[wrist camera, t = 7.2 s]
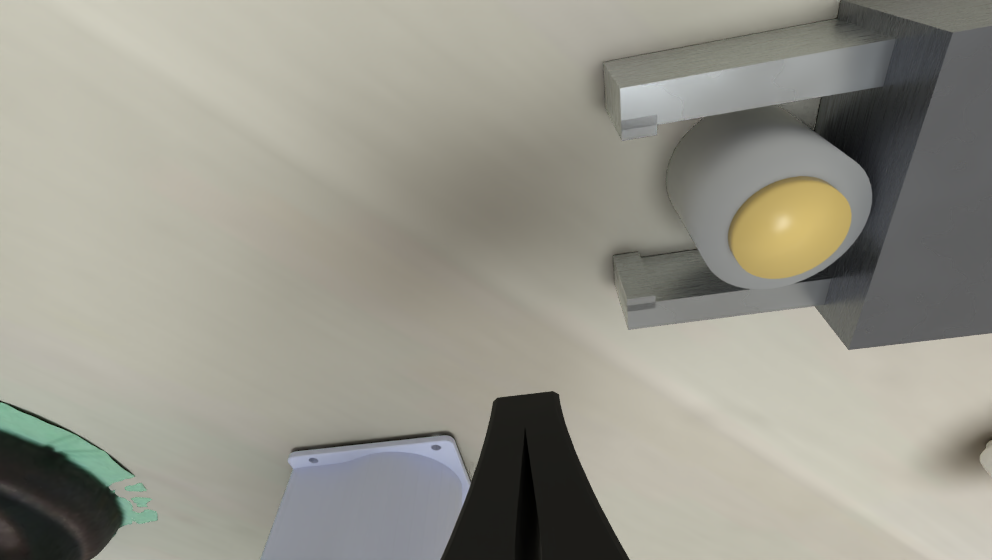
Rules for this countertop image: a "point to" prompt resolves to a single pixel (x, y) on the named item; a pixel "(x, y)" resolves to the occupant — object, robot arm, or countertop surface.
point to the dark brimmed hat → (58, 492)
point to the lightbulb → (987, 458)
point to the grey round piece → (766, 197)
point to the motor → (864, 138)
